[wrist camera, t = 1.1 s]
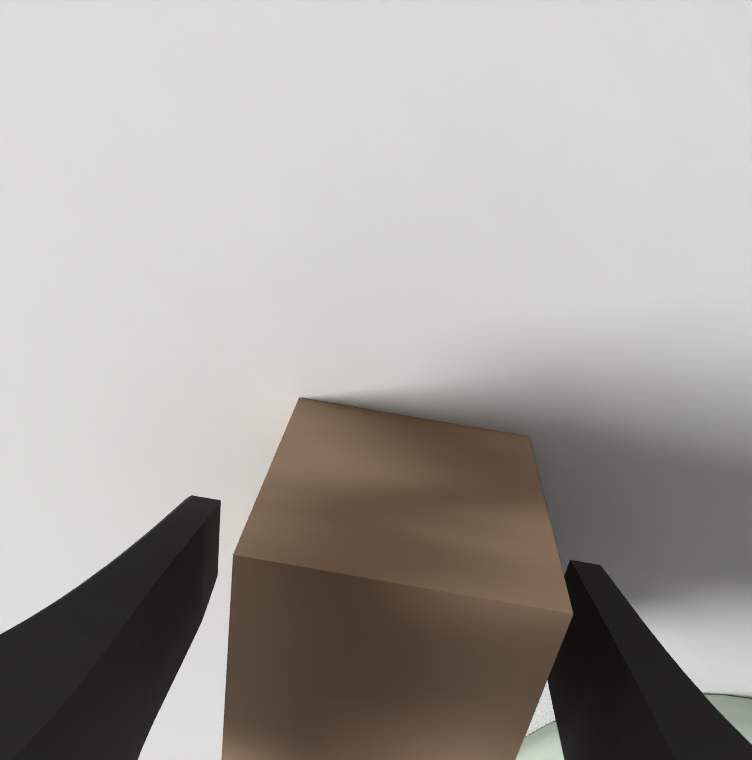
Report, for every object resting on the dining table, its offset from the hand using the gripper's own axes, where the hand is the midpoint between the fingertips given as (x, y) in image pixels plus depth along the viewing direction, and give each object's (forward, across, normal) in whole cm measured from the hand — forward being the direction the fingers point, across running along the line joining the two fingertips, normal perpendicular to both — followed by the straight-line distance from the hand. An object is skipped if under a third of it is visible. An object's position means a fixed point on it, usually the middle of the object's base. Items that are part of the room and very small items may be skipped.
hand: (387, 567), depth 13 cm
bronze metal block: (+2, 0, 0) cm, 2 cm away
